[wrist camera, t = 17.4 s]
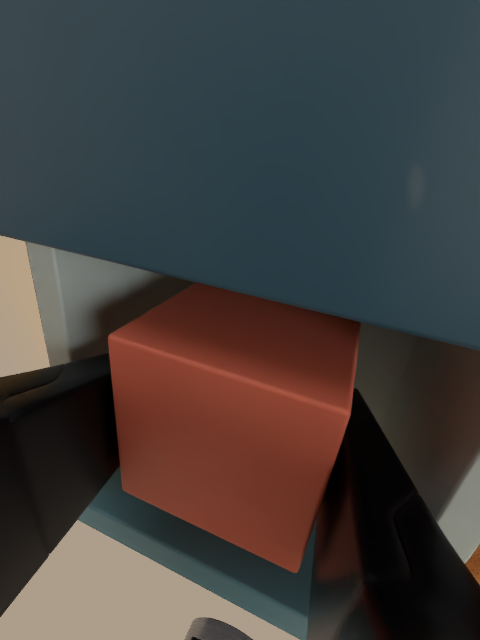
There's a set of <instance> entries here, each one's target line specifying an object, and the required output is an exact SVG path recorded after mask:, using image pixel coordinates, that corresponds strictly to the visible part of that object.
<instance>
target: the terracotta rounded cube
mask: <svg viewBox="0 0 480 640" xmlns="http://www.w3.org/2000/svg"><path fill="white" fill-rule="evenodd" d="M360 329H361V322H358V321H354V320H349V319H345V318H341V317H337V316H333V315H329V314H325V313H320V312H316V311H312V310H308V309H304V308H300V307H296V306H291V305H287V304H283V303H279V302H275V301H271V300H267V299H262V298H258V297H254V296H250V295H246V294H242V293H238V292H233V291H229V290H225V289H221V288H217V287H213V286H209V285H204V284H200V283H194V284H193V285H191V286H189V287H188V288H186V289H184V290H183V291H181V292H179V293H178V294H176V295H174V296H173V297H171V298H169V299H168V300H166V301H164V302H163V303H161V304H159V305H158V306H156V307H154V308H153V309H151V310H149V311H148V312H146V313H144V314H143V315H141V316H139V317H138V318H136V319H134V320H133V321H131V322H129V323H128V324H126V325H124V326H123V327H121V328H119V329H118V330H116V331H114V332H113V333H111V334H110V335H109V336H108V346H109V357H110V367H111V377H112V388H113V398H114V408H115V419H116V429H117V439H118V450H119V460H120V470H121V481H122V489H123V490H124V491H125V492H127V493H129V494H131V495H133V496H135V497H137V498H139V499H141V500H143V501H145V502H147V503H150V504H152V505H154V506H156V507H158V508H160V509H162V510H164V511H166V512H168V513H170V514H172V515H174V516H177V517H179V518H181V519H183V520H185V521H187V522H189V523H191V524H193V525H195V526H197V527H199V528H201V529H204V530H206V531H208V532H210V533H212V534H214V535H216V536H218V537H220V538H222V539H224V540H226V541H228V542H231V543H233V544H235V545H237V546H239V547H241V548H243V549H245V550H247V551H249V552H251V553H253V554H255V555H258V556H260V557H262V558H264V559H266V560H268V561H270V562H272V563H274V564H276V565H278V566H280V567H282V568H285V569H287V570H289V571H291V572H293V573H297V572H298V571H299V569H300V566H301V563H302V560H303V557H304V554H305V551H306V548H307V545H308V542H309V539H310V536H311V533H312V530H313V527H314V524H315V521H316V517H317V514H318V511H319V508H320V505H321V502H322V499H323V496H324V493H325V490H326V487H327V484H328V481H329V478H330V475H331V472H332V469H333V466H334V463H335V460H336V457H337V454H338V451H339V448H340V445H341V442H342V439H343V436H344V433H345V430H346V427H347V424H348V421H349V418H350V415H351V407H352V398H353V390H354V381H355V372H356V364H357V355H358V346H359V338H360Z"/></svg>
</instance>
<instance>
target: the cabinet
mask: <svg viewBox="0 0 480 640" xmlns="http://www.w3.org/2000/svg"><path fill="white" fill-rule="evenodd" d="M0 235H1V236H6V237H10V238H14V239H18V240H22V241H26V242H30V243H34V244H39V245H43V246H47V247H51V248H55V249H59V250H63V251H68V252H72V253H76V254H80V255H84V256H88V257H92V258H97V259H101V260H105V261H109V262H113V263H117V264H121V265H126V266H130V267H134V268H138V269H142V270H146V271H151V272H155V273H159V274H163V275H167V276H171V277H175V278H180V279H184V280H188V281H192V282H196V283H200V284H204V285H209V286H213V287H217V288H221V289H225V290H229V291H233V292H238V293H242V294H246V295H250V296H254V297H258V298H262V299H267V300H271V301H275V302H279V303H283V304H287V305H291V306H296V307H300V308H304V309H308V310H312V311H316V312H320V313H325V314H329V315H333V316H337V317H341V318H345V319H349V320H354V321H358V322H362V323H366V324H370V325H374V326H378V327H383V328H387V329H391V330H395V331H399V332H403V333H408V334H412V335H416V336H420V337H424V338H428V339H432V340H437V341H441V342H445V343H449V344H453V345H457V346H461V347H466V348H470V349H474V350H478V351H480V0H0Z"/></svg>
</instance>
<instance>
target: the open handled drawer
mask: <svg viewBox="0 0 480 640" xmlns="http://www.w3.org/2000/svg"><path fill="white" fill-rule="evenodd" d="M25 242H26V241H25ZM26 246H27V252H28V257H29V262H30V267H31V272H32V277H33V282H34V287H35V292H36V297H37V302H38V307H39V312H40V317H41V322H42V327H43V333H44V338H45V343H46V347H47V353H48V358H49V363H50V367H52V366H56V365H60V364H65V365H66V363H69V362H73V361H77V360H81V359H85V358H89V357H93V356H97V355H102V354H106V353H109V346H108V336H109V335H110V334H111V333H113V332H114V331H116V330H118V329H119V328H121V327H123V326H124V325H126V324H128V323H129V322H131V321H133V320H134V319H136V318H138V317H139V316H141V315H143V314H144V313H146V312H148V311H149V310H151V309H153V308H154V307H156V306H158V305H159V304H161V303H163V302H164V301H166V300H168V299H169V298H171V297H173V296H174V295H176V294H178V293H179V292H181V291H183V290H184V289H186V288H188V287H189V286H191V285H193V284H194V283H196V282H192V281H188V280H184V279H180V278H175V277H171V276H167V275H163V274H159V273H155V272H151V271H146V270H142V269H138V268H134V267H130V266H126V265H121V264H117V263H113V262H109V261H105V260H101V259H97V258H92V257H88V256H84V255H80V254H76V253H72V252H68V251H63V250H59V249H55V248H51V247H47V246H43V245H39V244H34V243H30V242H26ZM354 388H357V389H358V390H359V392H360V393H361V395H362V397H363V398H364V400H365V402H366V404H367V405H368V407H369V409H370V410H371V412H372V414H373V415H374V417H375V419H376V421H377V422H378V424H379V426H380V427H381V429H382V431H383V432H384V434H385V436H386V438H387V439H388V441H389V443H390V444H391V446H392V448H393V449H394V451H395V453H396V455H397V456H398V458H399V460H400V461H401V463H402V465H403V466H404V468H405V470H406V471H407V473H408V475H409V477H410V478H411V480H412V482H413V483H414V485H415V487H416V488H417V490H418V492H419V494H418V495H421V497H422V498H423V500H424V502H425V503H426V505H427V507H428V509H429V510H430V512H431V514H432V515H433V517H434V518H435V520H436V522H437V523H438V525H439V526H440V528H441V530H442V531H443V533H444V534H445V536H446V538H447V539H448V540H449V542H450V543H451V545H452V546H453V548H454V549H455V551H456V552H457V554H458V555H459V557H460V558H461V559H462V561H463V562H464V564H465V563H466V562H467V560H468V559H469V558H470V556H471V555H472V554H473V552H474V551H475V550H476V548H477V547H478V546H479V544H480V351H478V350H474V349H470V348H466V347H461V346H457V345H453V344H449V343H445V342H441V341H437V340H432V339H428V338H424V337H420V336H416V335H412V334H408V333H403V332H399V331H395V330H391V329H387V328H383V327H378V326H374V325H370V324H366V323H362V322H361V329H360V338H359V346H358V355H357V364H356V372H355V381H354ZM77 520H79V521H81V522H83V523H85V524H87V525H88V526H90V527H92V528H94V529H96V530H98V531H100V532H102V533H103V534H105V535H107V536H109V537H111V538H113V539H114V540H116V541H118V542H120V543H122V544H124V545H126V546H127V547H129V548H131V549H133V550H135V551H137V552H139V553H140V554H142V555H144V556H146V557H148V558H150V559H152V560H153V561H155V562H157V563H159V564H161V565H163V566H165V567H166V568H168V569H170V570H172V571H174V572H176V573H178V574H180V575H182V576H183V577H185V578H187V579H189V580H191V581H193V582H194V583H196V584H198V585H200V586H202V587H204V588H205V589H207V590H209V591H211V592H213V593H215V594H217V595H218V596H220V597H222V598H224V599H226V600H228V601H230V602H232V603H233V604H235V605H237V606H239V607H241V608H243V609H244V610H247V611H248V612H250V613H252V614H254V615H256V616H257V617H259V618H261V619H263V620H265V621H267V622H269V623H271V624H272V625H274V626H276V627H278V628H280V629H282V630H284V631H286V632H287V633H289V634H291V635H293V636H295V637H297V638H298V639H300V640H306V638H307V627H308V615H309V603H310V591H311V579H312V567H313V556H314V544H315V532H316V521H315V524H314V527H313V530H312V533H311V536H310V539H309V542H308V545H307V548H306V551H305V554H304V557H303V560H302V563H301V566H300V569H299V571H298V572H297V573H293V572H291V571H289V570H287V569H285V568H282V567H280V566H278V565H276V564H274V563H272V562H270V561H268V560H266V559H264V558H262V557H260V556H258V555H255V554H253V553H251V552H249V551H247V550H245V549H243V548H241V547H239V546H237V545H235V544H233V543H231V542H228V541H226V540H224V539H222V538H220V537H218V536H216V535H214V534H212V533H210V532H208V531H206V530H204V529H201V528H199V527H197V526H195V525H193V524H191V523H189V522H187V521H185V520H183V519H181V518H179V517H177V516H174V515H172V514H170V513H168V512H166V511H164V510H162V509H160V508H158V507H156V506H154V505H152V504H150V503H147V502H145V501H143V500H141V499H139V498H137V497H135V496H133V495H131V494H129V493H127V492H125V491H124V490H123V489H122V481H121V470H120V466H119V468H118V469H117V470H116V471H115V473H114V474H113V475H112V477H111V478H110V479H109V480H108V482H107V483H106V484H105V485H104V487H103V488H102V489H101V490H100V492H99V493H98V494H97V495H96V497H95V498H94V499H93V501H92V502H91V503H90V504H89V506H88V507H87V508H86V509H85V511H84V512H83V513H82V514H81V516H80V517H79V518H78V519H77ZM316 520H317V517H316Z"/></svg>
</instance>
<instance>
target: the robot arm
mask: <svg viewBox="0 0 480 640" xmlns="http://www.w3.org/2000/svg"><path fill="white" fill-rule="evenodd" d="M119 466H120V460H119V450H118V439H117V429H116V419H115V408H114V398H113V388H112V377H111V367H110V357H109V353H106V354H102V355H97V356H93V357H89V358H85V359H81V360H77V361H73V362H69V363H66V365H65V364H60V365H56V366H52V367H48V368H43V369H39V370H35V371H30V372H25V373H20V374H16V375H10V376H5V377H0V617H1V616H2V614H3V613H4V612H5V611H6V609H7V608H8V607H9V606H10V604H11V603H12V602H13V601H14V599H15V598H16V596H18V594H19V593H20V592H21V590H22V589H23V588H24V587H25V585H26V584H27V583H28V582H29V580H30V579H31V578H32V576H33V575H34V574H35V573H36V572H37V570H38V569H39V568H40V566H41V565H42V564H43V563H44V561H45V560H46V559H47V558H48V556H49V554H50V553H51V552H52V551H53V550H54V548H55V547H56V546H57V545H58V543H59V542H60V541H61V539H62V538H63V537H64V536H65V535H66V533H67V532H68V531H69V530H70V528H71V527H72V526H73V524H74V523H75V522H76V521H77V519H78V518H79V517H80V516H81V514H82V513H83V512H84V511H85V509H86V508H87V507H88V506H89V504H90V503H91V502H92V501H93V499H94V498H95V497H96V495H97V494H98V493H99V492H100V490H101V489H102V488H103V487H104V485H105V484H106V483H107V482H108V480H109V479H110V478H111V477H112V475H113V474H114V473H115V471H116V470H117V469H118V468H119ZM418 494H419V492H418V490H417V488H416V487H415V485H414V483H413V482H412V480H411V478H410V477H409V475H408V473H407V471H406V470H405V468H404V466H403V465H402V463H401V461H400V460H399V458H398V456H397V455H396V453H395V451H394V449H393V448H392V446H391V444H390V443H389V441H388V439H387V438H386V436H385V434H384V432H383V431H382V429H381V427H380V426H379V424H378V422H377V421H376V419H375V417H374V415H373V414H372V412H371V410H370V409H369V407H368V405H367V404H366V402H365V400H364V398H363V397H362V395H361V393H360V392H359V390H358V389H357V388H354V390H353V398H352V407H351V415H350V418H349V421H348V424H347V427H346V430H345V433H344V436H343V439H342V442H341V445H340V448H339V451H338V454H337V457H336V460H335V463H334V466H333V469H332V472H331V475H330V478H329V481H328V484H327V487H326V490H325V493H324V496H323V499H322V502H321V505H320V508H319V511H318V514H317V520H316V532H315V544H314V556H313V567H312V579H311V591H310V603H309V615H308V627H307V638H306V640H480V585H479V584H478V582H477V581H476V580H475V578H474V577H473V575H472V574H471V572H470V571H469V570H468V568H467V567H466V565H465V564H464V562H463V561H462V559H461V558H460V557H459V555H458V554H457V552H456V551H455V549H454V548H453V546H452V545H451V543H450V542H449V540H448V539H447V538H446V536H445V534H444V533H443V531H442V530H441V528H440V526H439V525H438V523H437V522H436V520H435V518H434V517H433V515H432V514H431V512H430V510H429V509H428V507H427V505H426V503H425V502H424V500H423V498H422V497H421V495H418ZM190 640H199V639H198V638H196V637H191V639H190Z"/></svg>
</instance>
